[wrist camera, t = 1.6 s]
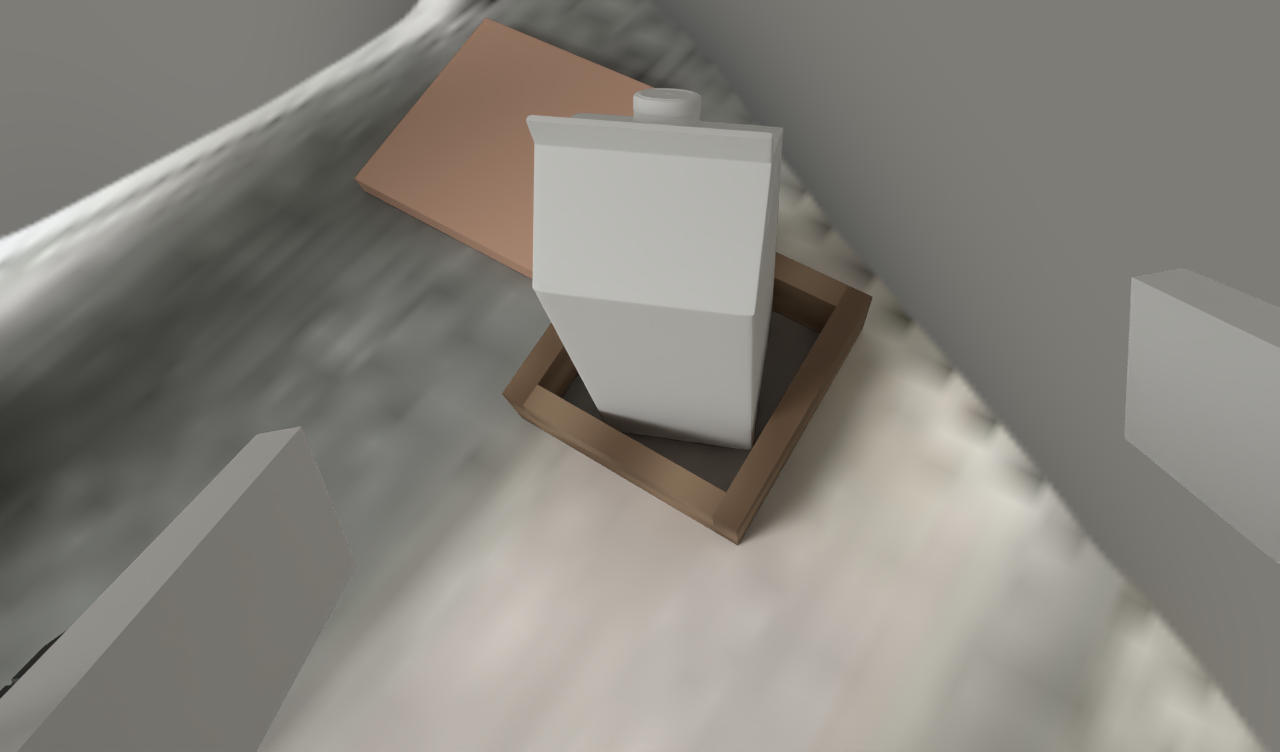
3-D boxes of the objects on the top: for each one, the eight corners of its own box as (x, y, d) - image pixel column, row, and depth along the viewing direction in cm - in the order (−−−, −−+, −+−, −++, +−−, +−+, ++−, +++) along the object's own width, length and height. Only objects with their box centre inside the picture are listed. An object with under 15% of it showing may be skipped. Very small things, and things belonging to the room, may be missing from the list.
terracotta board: (363, 190, 47) (354, 178, 46) (491, 32, 50) (485, 17, 49) (543, 284, 43) (537, 274, 42) (669, 107, 46) (667, 93, 45)
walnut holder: (521, 417, 40) (502, 393, 37) (651, 227, 43) (643, 190, 40) (737, 545, 37) (736, 531, 34) (862, 328, 40) (872, 296, 37)
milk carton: (752, 452, 38) (755, 249, 21) (607, 430, 40) (495, 223, 22) (771, 318, 41) (789, 34, 23) (635, 302, 42) (553, 22, 24)
